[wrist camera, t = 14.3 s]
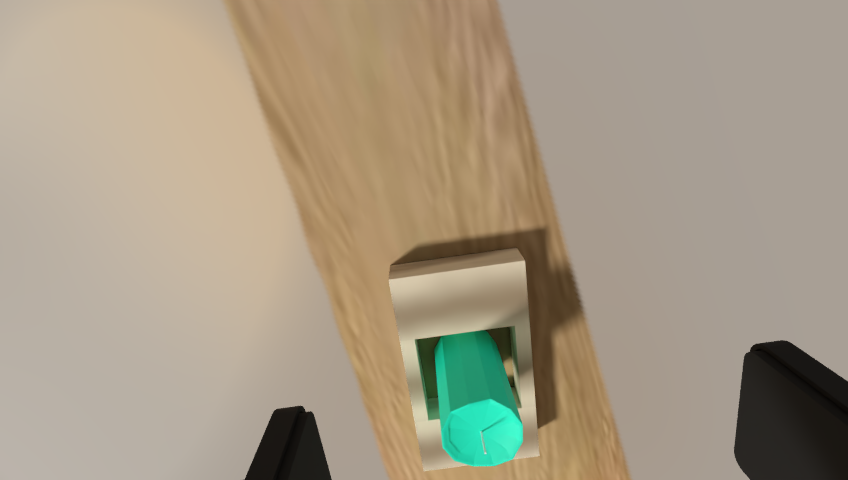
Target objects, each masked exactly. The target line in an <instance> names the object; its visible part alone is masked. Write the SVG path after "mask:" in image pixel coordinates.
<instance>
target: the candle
mask: <svg viewBox="0 0 848 480" xmlns="http://www.w3.org/2000/svg"><path fill="white" fill-rule="evenodd" d="M434 352H435V365H436V377H437V389H438V401H439V413H440V425H441V437H442V447H443V449H444V450H445V451H446V452H447V453H448V454H449V456H450V457H451V458H452V459H453V460H454V461H456V462H460V463H463V464H467V465H471V466H496V465H498V464H501V463H504V462H506V461H509V460H512V459H513V458H514V456H515V455H516V453H517V451H518V449H519V448H520V446H521V444H522V442H523V424H522V421H521V418H520V415H519V412H518V409H517V406H516V402H515V399H514V396H513V393H512V390H511V387H510V384H509V381H508V378H507V375H506V372H505V368H504V365H503V362H502V359H501V356H500V353H499V350H498V347H497V344H496V342H495V341H494V340H493V338H492V337H491V336H490V334H489V333H488V332H487V331H484V330H480V331H472V332H465V333H458V334H451V335H443V336H441V338H440V340H439V341H438V343H437V345H436V347H435V349H434Z"/></svg>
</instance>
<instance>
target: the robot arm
mask: <svg viewBox="0 0 848 480" xmlns="http://www.w3.org/2000/svg"><path fill="white" fill-rule="evenodd" d="M734 454H735V458H736V461H737V463H738V465H739V466H740V468H741V469H742V471H743V472H744V473H745V474H746V475H747V476H748V477H749V479H750V480H848V381H846V380H845V379H843V378H842V377H840V376H839V375H837V374H836V373H834V372H833V371H831V370H830V369H829V368H827V367H826V366H824V365H823V364H821V363H820V362H818V361H817V360H815V359H814V358H812V357H811V356H809V355H808V354H807V353H805V352H804V351H802V350H801V349H799V348H798V347H796V346H795V345H793V344H792V343H790V342H788V341H783V340H781V341H774V342H766V343H760V344H755V345H753V346H752V347H751V350H750V352H748V353H746V354H745V356H744V363H743V372H742V381H741V390H740V401H739V409H738V419H737V428H736V437H735V447H734ZM245 480H332V479H331V476H330V472H329V468H328V465H327V461H326V457H325V454H324V450H323V446H322V443H321V439H320V435H319V432H318V428H317V425H316V421H315V417H314V414H313V413H312V412H311V411H310V412H305V409H304V408H303V406H295V407H289V408H281V409H276V410H275V411H274V412H273V414H272V416H271V419H270V421H269V423H268V426H267V428H266V430H265V433H264V435H263V437H262V440H261V442H260V445H259V447H258V449H257V452H256V454H255V457H254V459H253V461H252V464H251V466H250V468H249V471H248V473H247V475H246V478H245Z"/></svg>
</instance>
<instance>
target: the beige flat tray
mask: <svg viewBox="0 0 848 480" xmlns="http://www.w3.org/2000/svg"><path fill="white" fill-rule="evenodd" d="M389 285H390V290H391V296H392V301H393V307H394V312H395V317H396V323H397V328H398V334H399V339H400V345H401V350H402V356H403V361H404V366H405V372H406V377H407V383H408V388H409V394H410V399H411V405H412V410H413V415H414V421H415V426H416V432H417V437H418V443H419V448H420V454H421V459H422V464H423V470H424V471H429V470H436V469H444V468H451V467H459V466H467V464H463V463H460V462H456V461H454V460H453V459H452V458H451V457H450V456H449V454H448V453H447V452H446V451H445V450H444V449H443V447H442V437H441V425H440V413H439V401H438V397H436V398H429V399H427V394H426V388H425V382H424V376H423V370H422V364H421V358H420V352H419V346H418V340H417V339H422V338H429V337H436V336H443V335H451V334H458V333H465V332H472V331H480V330H487V329H494V328H501V327H509V329H510V340H511V351H512V363H513V374H514V385H515V387H511V390H512V393H513V396H514V399H515V402H516V406H517V409H518V412H519V415H520V418H521V421H522V424H523V442H522V444H521V446H520V448H519V449H518V451H517V453H516V455H515V456H514V458H513V459H520V458H527V457H535V456H539V444H538V430H537V417H536V403H535V389H534V376H533V362H532V348H531V335H530V321H529V307H528V294H527V280H526V266H525V260H524V258H523V256H522V255H521V253H520V252H519V250H518V249H517V248H510V249H503V250H496V251H489V252H482V253H475V254H468V255H461V256H454V257H447V258H440V259H433V260H426V261H419V262H412V263H405V264H398V265H390V272H389Z"/></svg>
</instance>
